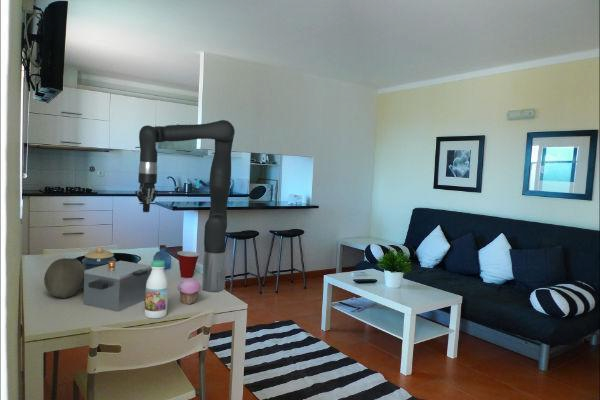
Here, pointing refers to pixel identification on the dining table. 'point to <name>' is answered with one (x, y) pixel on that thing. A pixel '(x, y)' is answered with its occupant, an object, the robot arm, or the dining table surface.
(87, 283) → the grey storage box
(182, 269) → the plastic cup
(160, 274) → the milk bottle
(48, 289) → the cantaloupe
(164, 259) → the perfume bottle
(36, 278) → the dining table surface
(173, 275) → the dining table surface
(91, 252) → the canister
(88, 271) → the box lid
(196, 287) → the cupcake
